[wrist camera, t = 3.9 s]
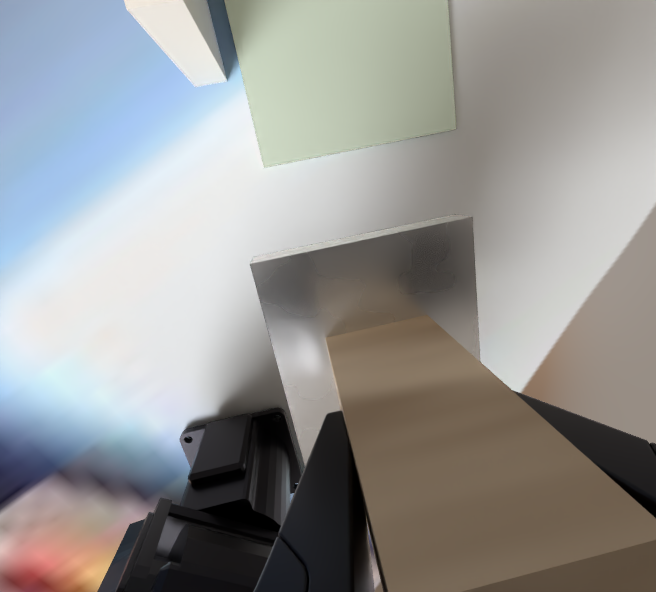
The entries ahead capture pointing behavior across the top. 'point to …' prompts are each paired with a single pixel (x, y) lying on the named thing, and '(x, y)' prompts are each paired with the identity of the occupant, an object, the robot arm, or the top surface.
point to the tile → (183, 36)
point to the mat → (343, 73)
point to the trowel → (441, 423)
